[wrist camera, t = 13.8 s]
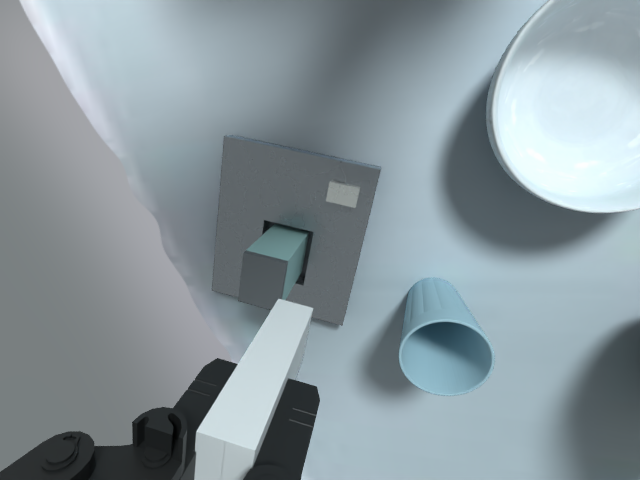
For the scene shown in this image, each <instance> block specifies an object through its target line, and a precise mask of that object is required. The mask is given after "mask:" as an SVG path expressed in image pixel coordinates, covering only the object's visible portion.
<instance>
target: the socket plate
mask: <svg viewBox="0 0 640 480" xmlns="http://www.w3.org/2000/svg"><path fill="white" fill-rule="evenodd" d="M380 170H381V167H379V166H374V165H370V164H365V163H360V162H356V161H351V160H346V159H342V158H337V157H332V156H328V155H323V154H318V153H314V152H309V151H304V150H300V149H295V148H290V147H286V146H281V145H276V144H272V143H267V142H262V141H258V140H253V139H248V138H244V137H239V136H234V135H229V136H224V145H223V157H222V170H221V182H220V195H219V208H218V220H217V233H216V245H215V258H214V270H213V283H212V290H213V291H216V292H220V293H224V294H227V295H231V296H235V297H238V295H239V286H240V278H241V269H242V260H243V253H244V252H245V251H246V250H247V249H248V248H249V247H250V246H251V245H252V244H253V243H254V242H255V241H257V240H258V239H259V238H260V237H261V236H262V235H263V234H264V233H265V232H266V231H267V230H268V229H270V228H271V227H272V226H273V225H274V224H278V225H283V226H287V227H291V228H295V229H299V230H303V231H307V232H309V235H308V241H307V246H306V252H305V257H304V263H303V268H302V272H301V274H300V276H299V278H298V279H297V281H296V283H295V284H294V286H293V288H292V290H291V291H290V293H289V295H288V297H287V298H286V301H289V302H293V303H297V304H300V305H304V306H308V307H311V308H313V313H312V318H316V319H320V320H323V321H327V322H331V323H334V324H338V325H343V321H344V317H345V313H346V309H347V305H348V301H349V297H350V293H351V288H352V284H353V280H354V276H355V272H356V268H357V264H358V260H359V256H360V252H361V248H362V244H363V240H364V235H365V231H366V227H367V223H368V219H369V215H370V211H371V207H372V203H373V199H374V195H375V191H376V187H377V182H378V178H379V174H380Z"/></svg>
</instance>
